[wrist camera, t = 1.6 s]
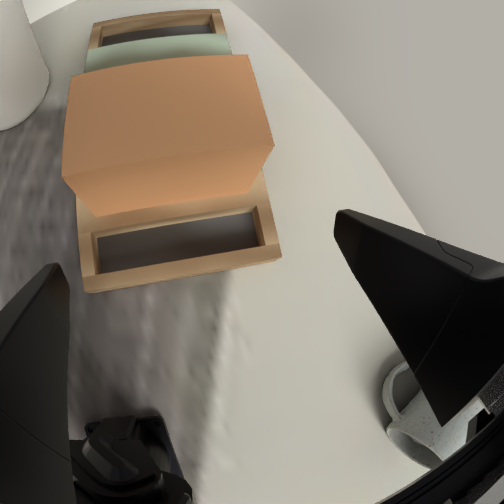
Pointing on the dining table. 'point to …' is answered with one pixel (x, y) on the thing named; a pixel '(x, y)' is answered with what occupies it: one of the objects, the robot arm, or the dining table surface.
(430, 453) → the ceramic mug
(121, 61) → the box
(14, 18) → the alcohol
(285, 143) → the dining table surface
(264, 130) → the block
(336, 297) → the dining table surface
